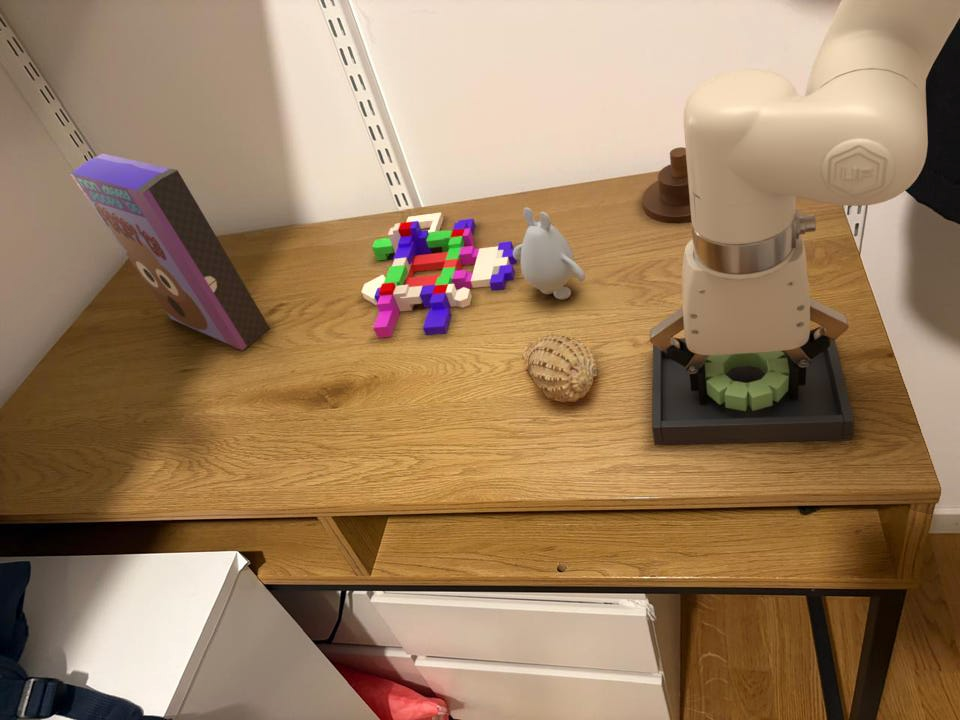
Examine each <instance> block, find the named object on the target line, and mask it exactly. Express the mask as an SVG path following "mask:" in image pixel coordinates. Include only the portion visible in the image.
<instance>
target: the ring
mask: <svg viewBox="0 0 960 720" xmlns="http://www.w3.org/2000/svg"><path fill="white" fill-rule="evenodd" d="M743 365H745V366H752V367H758V368H759V369H760V370H762V371H763V372H764V373H766V374H765V375H764V377H763V378H762V379H760V380H757V381H753V382H750V383H743V382H737V381H732V380H731V379H730V378H729V377H728V376H726V374H727V373H728V372H729V371H730V370H731V369H733V368H736V367H740V366H743ZM705 375H706V388H707V394H708V395H709V396H710V397H711V398H712V399H714V400H715V401H716V402H717V403H718V404H719V405H721V404H722V403H724V402H725V407H726V408H731V409H736V410H741V411H746V410H747V407H748V404H749V406H750V407H751V409H752V411H754V410H758V409H762V408H765V407H769V406H772V400H773V401H775V402H778V401H779V400H780V399H781V398H782V397H783V396H784V394H785V393H786V392H787V391H788V385H789V367H788V361H787V358H785V353H783V352H782V351H772V352H757V353H742V354H724V355H710V356H709V357H708V358H707V360H706V361H705Z"/></svg>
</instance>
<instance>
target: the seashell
mask: <svg viewBox="0 0 960 720" xmlns="http://www.w3.org/2000/svg"><path fill="white" fill-rule="evenodd" d="M521 356H522V357H521V359H522V360H523V365H524V366H525V369H526V370H527V371H528V372H529V374H530V376H531V377H533V378H532V379H533V380H534V385H535V386H536V387H537V388H539V389H540V390H541V391H542V392H543V393H544V395H545V396H546V397H547V398H548V399H550V400H553V401H557V402H561V403H564V402H570V403H576V402H577V401H578V400H580V399H582V398H585V396H586V394H587V393H588V392H590V390H591V387H592V385H593V383H594V378H595V377H597V376H598V365H597V363H598V362H597V358H596V357H595V355H594V353H593V352H592V350H591V348H589V347H588V346H586V345H585V344H584V343H583V342H582V341H580V340H579V339H577V338H575V337H572V336H567V335H561V334H548V335H545V336H543V337H540V338H539V339H537V340H536V341H535V342H528V343H526V344H525V345H524V348H523V351H522V353H521Z"/></svg>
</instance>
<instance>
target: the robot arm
mask: <svg viewBox="0 0 960 720" xmlns="http://www.w3.org/2000/svg"><path fill="white" fill-rule="evenodd" d="M959 19H960V0H840V2H839V5H838V7H837V9H836V11H835V14H834V15H833V18H832V20H831V23H830V25H829V27H828V29H827V32H826V34H825V35H824V38H823V40H822V42H821V45H820V47H819V50H818V51H817V54H816V57H815V59H814V62H813V64H812V67H811V69H810V72H809V75H808V80H807V83H806V87H805V92H804V95H803V96H802V95H800V94H798V91H797V90H796V88H795V86H794V85H793V83H792V81H790V79H788V78H787V77H785V76H784V75H782V74H780V73H778V72H776V71H772V70H769V69H760V68H759V69H758V68H757V69H756V68H750V69H749V68H748V69H747V68H746V69H737V70H733V71H729V72H724V73H721V74H718V75H715V76H713V77H710V78H708V79H707V80H705V81H704V82H702V83H700V84H699V85H698V86H697V87H696V88H695V89H694V90H693V91H692V92H691V93H690V95H689V96H688V98H687V100H686V102H685V105H684V109H683V131H684V132H683V133H684V145H685V146H684V147H685V148H686V159H687V172H688V184H689V197H690V209H691V221H690V222H691V232H692V233H691V234H692V239H691V240H689V241H688V242H687V244H686V245H685V247H684V248H685V249H684V252H683V258H682V267H681V303H682V304H681V305H682V306H681V307H680V308H679V309H677V310H676V311H675V312H673V313H671V314H670V315H669V316H667V318H665V319H663V320H662V321H661V322H659V323H657V324H656V325H655V326H653V327H652V328H650V331H649V342H650V344H652V346H653V345H654V346H656V347H657V348H658V349H660V350H661V351H664V352H665V353H667V356H668V357H669V358H670V359H672V360H674V361H675V362H677V363H679V364H680V365H682V366H684V367H685V370H686V372H687V373H689V374H690V384H691V391H699V401H700V403H705V402H707V388H706V375H705V361H706V360H707V358H708V357H709V356H710V355H724V354H742V353H757V352H772V351H783V350H784V351H785V352H786V358H787V361H788V367H789V385H788V394H789V398H791V399H798V386H802V385H805V384H806V367H808V366H809V365H810V364H811V359H813V358H814V357H815V356H817V355H818V354H820V353H821V352H823V351H824V350H826V349H827V348H828V347H829V346H830V342H832V341H833V340H835V341H836V340H837V339H838V338H840V337H841V336H842V335H843V334H844V333H845V332H846V331H848V329H849V327H850V326H849V322H848V318H847V316H846V314H844V313H842V312H841V311H839V310H837V309H835V308H832V307H831V306H828V305H826V304H825V303H822V302H821V301H818V300H817V299H814V298H812V297H810V295H811V294H810V281H809V280H810V279H809V271H808V264H807V253H806V249H805V243H804V239H803V237H802V235H806V233H813V232H814V233H815V232H816V228H817V221H816V214H815V213H810V214H809V213H808V214H805V213H800V212H799V210H798V209H796V206H797V205H796V204H797V203H796V202H797V199H805V200H809V201H814V202H819V203H823V204H830V205H837V206H849V207H861V206H862V207H863V206H872V205H877V204H881V203H884V202H887V201H889V200H893V199H894V198H896V197H898V196H899V195H901V194H903V193H904V192H906V190H908V189H909V188H910V187H911V186H912V185H913V184H914V183H915V181H916V180H917V179H918V177H919V175H920V174H921V172H922V171H923V168H924V165H925V163H926V158H927V155H928V154H927V153H928V146H929V145H928V144H929V140H928V115H927V113H928V112H927V111H928V110H927V91H926V89H927V88H926V86H927V85H926V84H927V82H926V81H927V78H928V75H929V73H930V72H931V69H932V67H933V64H934V63H935V61H936V60H937V58H938V56H939V54H940V52H941V51H942V49H943V48H944V45H945V44H946V42H947V40H948V38H949V37H950V35H951V34H952V31H953V30H954V28H955V27H956V24H957V23H958V21H959ZM796 198H797V199H796ZM811 322H813V323H816V324H818V325H820V326H818V327H816V328H814V329H811ZM810 330H812V331H811V332H810ZM682 331H683V332H684V333H683V334H684V338H685V340H686V343H685V342H683V341H681V340H680V338H678V337H675V336H676V335H678V334H679V333H681V332H682Z"/></svg>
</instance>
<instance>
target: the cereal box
mask: <svg viewBox="0 0 960 720" xmlns="http://www.w3.org/2000/svg"><path fill="white" fill-rule="evenodd" d="M69 175H70V176H71V178H72V179H73V180H74V182H75V183H76V185H77V186H78V188H79V190H81V192H82V193H83V195H84V197H85V199H86V200H87V201H88V202H89V204H90V205H91V207H92V208H93V209H94V211H95V212H96V213H97V215H98V217H99V218H100V219H101V221H102V223H104V225H105V226H106V229H108V231H109V232H110V234H111V236H113V238H114V240H115V241H116V242H117V244H118V245H119V247H120V248H121V250H122V251H123V252H124V254H125V255H126V257H127V258H128V260H129V261H130V263H131V264H132V265H133V267H134V269H135V270H136V271H137V273H138V274H139V275H140V277H141V278H142V280H143V281H144V282H145V284H146V286H147V287H148V288H149V290H150V291H151V292H152V294H153V295H154V297H155V298H156V300H157V301H158V302H159V304H160V305H161V307H162V309H163V310H164V311H165V312H166V314H167V316H168V317H169V319H170V320H171V321H173V322H175V323H177V324H180V325H182V326H185V327H187V328H189V329H191V330H193V331H195V332H198V333H200V334H203V335H205V336H207V337H210V338H212V339H214V340H216V341H219V342H221V343H223V344H225V345H228V346H230V347H233V348H235V349H237V350H239V351H240V352H244V351H246V350H247V349H248V348H249V347H251V346H252V345H253V344H254V343H255V342H256V341H257V340H259V339H260V338H261V337H262V336H263V335H264V334H265V333H266V332H268V331H269V330H270V329H271V328H270V326H269V324H268V322H267V321H266V319H265V317H264V316H263V314H262V312H261V311H260V309H259V308H258V306H257V303H256V302H255V300H254V299H253V297H252V295H251V293H250V291H249V290H248V288H247V286H246V285H245V283H244V282H243V280H242V278H241V276H240V275H239V273H238V271H237V268H235V266H234V264H233V263H232V260H231V259H230V258H229V256H228V254H227V252H226V250H225V249H224V247H223V246H222V244H221V242H220V241H219V239H218V237H217V235H216V233H215V232H214V230H213V228H212V227H211V225H210V223H209V221H208V220H207V218H206V216H205V214H204V213H203V211H202V209H201V207H200V206H199V204H198V202H197V201H196V199H195V198H194V195H193V194H192V193H191V190H190V189H189V187H188V186H187V183H186V182H185V181H184V179H183V177H182V175H181V173H180V172H179V170H178V169H174V168H170V167H165V166H160V165H156V164H152V163H147V162H143V161H138V160H134V159H129V158H125V157H119V156H116V155H112V154H106V153H101V154H99V155H97V156H95V157H94V156H93V157H92V158H90V159H89V160H87V161H85V162H84V163H82V164H81V165H79V166H78V167H77V168H75V169H74V170H73V171H71V172H69Z"/></svg>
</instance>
